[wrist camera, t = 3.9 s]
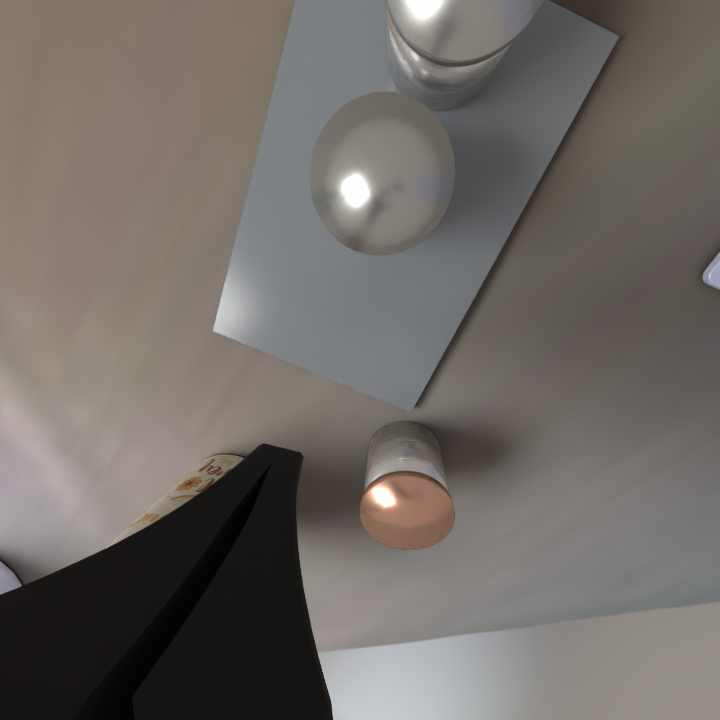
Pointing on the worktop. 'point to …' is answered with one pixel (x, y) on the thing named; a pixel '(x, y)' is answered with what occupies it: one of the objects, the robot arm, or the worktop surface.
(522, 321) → the worktop surface
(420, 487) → the cylinder
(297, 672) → the robot arm
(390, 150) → the tin middle
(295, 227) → the slate board
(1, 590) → the soap bottle
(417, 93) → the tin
